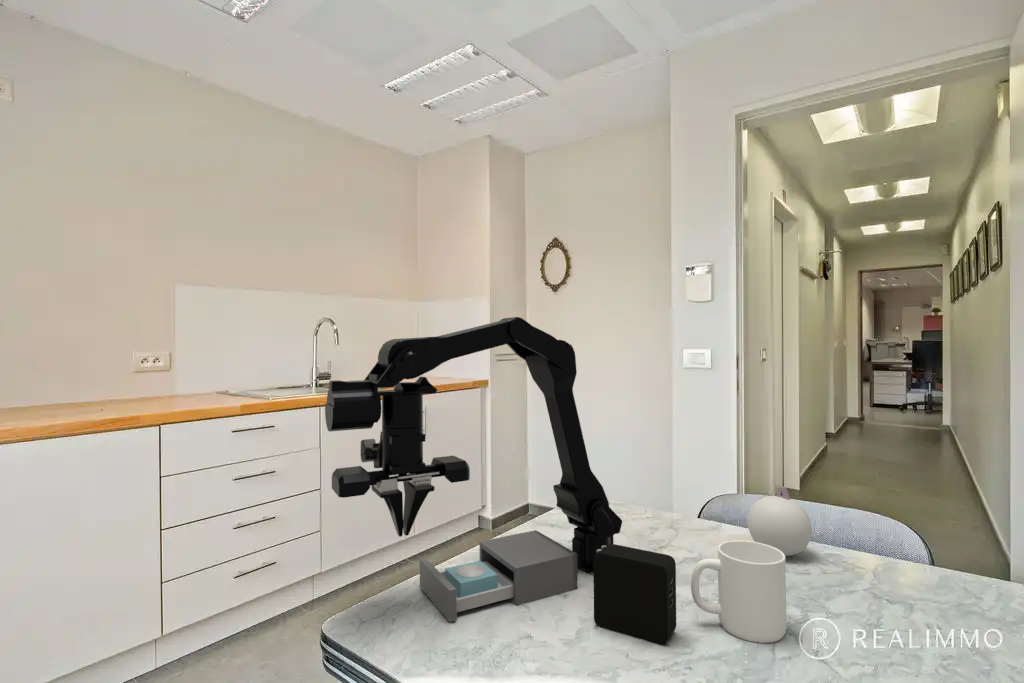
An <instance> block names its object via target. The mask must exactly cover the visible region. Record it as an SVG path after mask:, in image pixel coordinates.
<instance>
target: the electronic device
mask: <svg viewBox="0 0 1024 683" xmlns="http://www.w3.org/2000/svg"><path fill="white" fill-rule="evenodd" d="M676 566H677V564H676V559H675V558H674V557H673V556H671V555H669V554H665V553H659V552H655V551H649V550H647V549H646V550H645V549H640V548H635V547H630V546H625V545H620V544H616V543H613V544H607V545H606V546H604V545H603V546H601V550H600V549H598V550H597V553H596V554H595V555H594V558H593V568H594V573H593V619H594V620H593V621H594V623H595V625H596V626H597V627H599V628H601V629H604V630H608V631H611V632H616V633H618V634H622V635H626V636H629V637H633V638H636V639H639V640H643V641H645V642H649V643H653V644H656V645H659V646H665V645H666V644H667V643H668V642H669V640H670V639H671V637H672V635H673V633H674V631H675V630H676V628H677V575H676V574H677V571H676V570H677V568H676Z"/></svg>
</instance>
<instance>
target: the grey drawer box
mask: <svg viewBox="0 0 1024 683" xmlns="http://www.w3.org/2000/svg"><path fill="white" fill-rule="evenodd" d="M479 561H481V562H485V561H487V562H489V563H490V564H491V565H492V566H494V567H495V568H496V569H498V570H499V571H500V572H501V573H503V574H504V575H505V576H506V577H508V578H509V579H510V580H512V581H513V582H514V597H513V598H509V599H508V600H509V601H511V602H512V603H513V604H514V605H515V606H520V605H523V604H527V603H531V602H534V601H537V600H541V599H544V598H548V597H552V596H555V595H559V594H562V593H566V592H569V591H574V590H577V589H578V586H579V585H578V583H579V582H578V566H577V553H575V552H573V551H572V550H571V549H570V548H568V547H566V546H564V545H562V544H561V543H559V542H557V541H556V540H554V539H552V538H550V537H549V536H546V535H545V534H543V533H541V532H540V531H539V530H529V531H526V532H521V533H515V534H511V535H506V536H501V537H496V538H490V539H486V540H485V539H484V540H480V541H479Z"/></svg>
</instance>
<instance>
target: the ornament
mask: <svg viewBox="0 0 1024 683" xmlns="http://www.w3.org/2000/svg"><path fill="white" fill-rule="evenodd" d="M747 525H748V531H749V534H750V536H751V538H752V540H753V542H758V543H762V544H766V545H769V546H772V547H774V548H777V549H778V550H780V551H782V552H783V553H784V555H785V557H791V556H796V555H798V554H800V553H801V552H803V551H804V550H805V549H806V548H807V546H808V545H809V543H810V540H811V537H812V523H811V519H810V517H809V515H808V512H807V511H806V510H805V509H804V507H803V506H802V505H801V504H800V503H798V502H797V501H795V500H793V499H791V497H790V495H789V492H788V489H787V487H786V486H779V487H778V490H777V493H776V495H769V496H764V497H761V498H760V499H758V500H756V501H755V502H754V503H753V505H752V506H751V508H750V510H749V513H748V518H747Z"/></svg>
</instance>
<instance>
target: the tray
mask: <svg viewBox="0 0 1024 683" xmlns="http://www.w3.org/2000/svg"><path fill="white" fill-rule="evenodd" d="M482 563H484V564H485V565H486V566H487V567H489V568H490V569H491V570H492V571H494V572H495V573H496V574H497V575H498V588H496V589H492V590H488V591H484V592H480V593H476V594H473V595H469V596H465V597H461V598H458V597H457V589H456V588H455V587H454V586H453V585H452V584H451V583H450V582H449V581H448V580H447V579H446V578H445V569H444V570H441V571H439V570H438V568H436V567H435V566H434V565H433V564H432V563H431V562H430V561H429V560H428V559H427V558H420V559H419V587H420V588H421V590H422V592H424V593H425V594H426V596H428V598H429V599H430V600H431V601H432V603H433V604H434V605H435V606H436V607H437V608H438V610H439V611H440V612H441V613H442V614H443V615H444V617H445V618H446V619H447V620H448V621H449V622H454V621H457V620H458V618H457V613H460V612H464V611H467V610H471V609H475V608H479V607H482V606H487V605H490V604H493V603H498V602H501V601H506V600H509V598H513V597H514V582H513V581H512V580H510V579H509V578H508V577H506V576H505V575H504V574H503V573H501V572H500V571H499V570H498V569H496V568H495V567H494V566H492V565H491V564H490V563H489V562H487V561H485V562H482Z"/></svg>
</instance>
